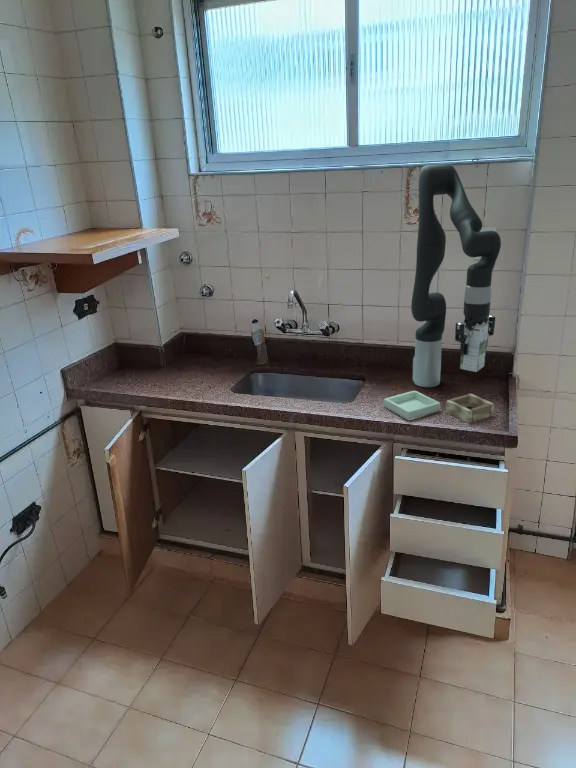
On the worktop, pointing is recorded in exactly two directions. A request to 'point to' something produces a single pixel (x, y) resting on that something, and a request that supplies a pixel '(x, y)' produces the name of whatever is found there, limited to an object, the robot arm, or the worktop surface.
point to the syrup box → (475, 349)
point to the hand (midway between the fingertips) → (473, 351)
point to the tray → (412, 404)
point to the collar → (462, 412)
